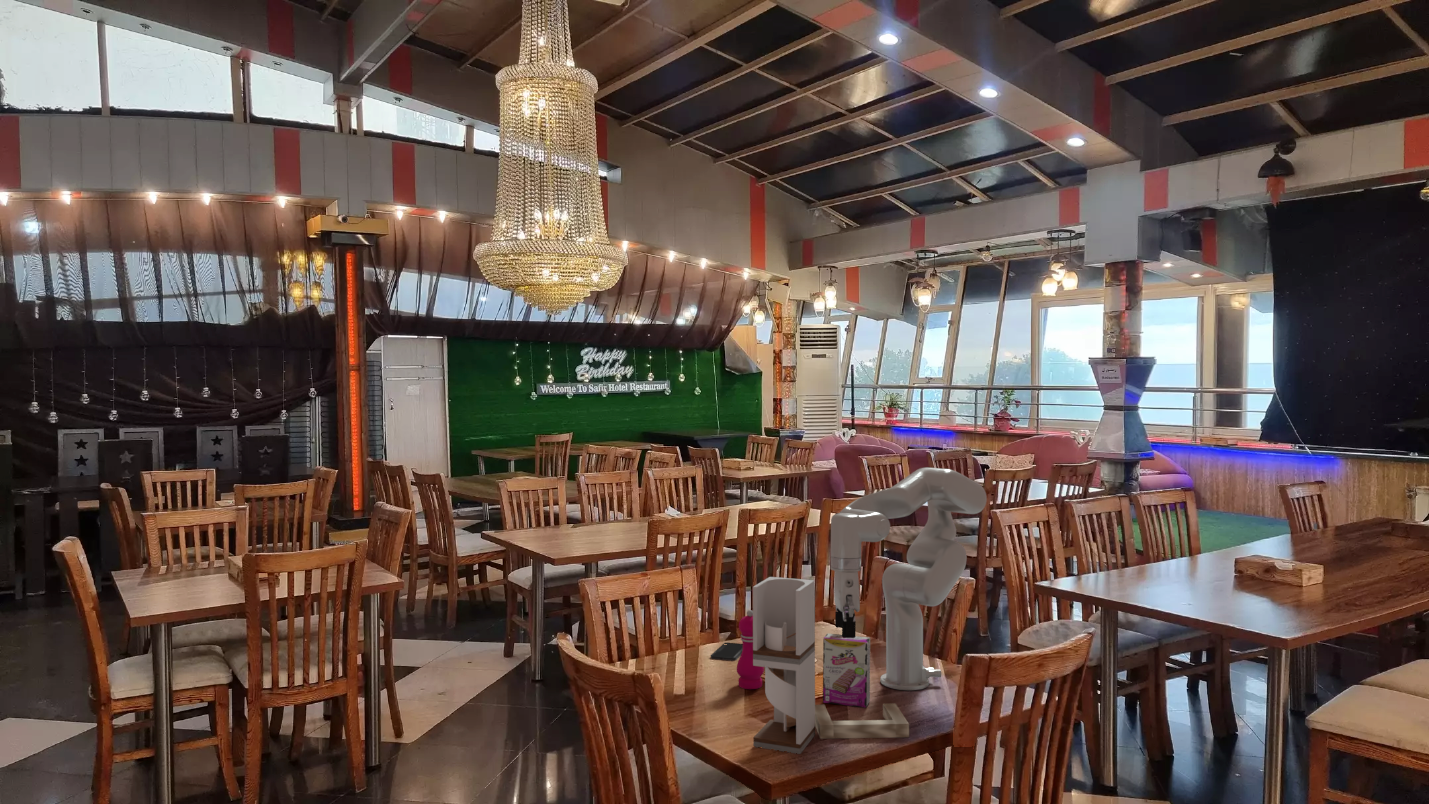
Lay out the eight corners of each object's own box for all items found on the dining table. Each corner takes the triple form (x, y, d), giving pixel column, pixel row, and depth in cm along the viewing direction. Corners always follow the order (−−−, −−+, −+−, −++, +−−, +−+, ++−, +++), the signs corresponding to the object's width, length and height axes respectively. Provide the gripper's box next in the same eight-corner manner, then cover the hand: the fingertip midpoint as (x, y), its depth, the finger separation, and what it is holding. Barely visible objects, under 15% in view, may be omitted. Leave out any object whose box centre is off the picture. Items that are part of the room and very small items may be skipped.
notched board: (895, 715, 212) (895, 703, 212) (909, 736, 199) (909, 723, 199) (811, 717, 211) (811, 704, 211) (820, 738, 198) (820, 724, 198)
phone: (749, 644, 270) (735, 658, 256) (749, 647, 270) (735, 662, 256) (724, 642, 272) (709, 655, 258) (724, 645, 272) (709, 659, 258)
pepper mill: (764, 681, 237) (764, 606, 237) (763, 690, 230) (763, 613, 230) (737, 680, 238) (737, 606, 238) (735, 689, 231) (735, 612, 231)
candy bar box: (822, 703, 220) (822, 637, 220) (826, 696, 225) (826, 632, 225) (867, 708, 217) (867, 641, 217) (870, 701, 221) (870, 636, 221)
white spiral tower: (770, 728, 204) (769, 576, 204) (815, 734, 200) (814, 580, 200) (753, 746, 194) (752, 586, 193) (800, 753, 190) (799, 590, 189)
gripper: (867, 570, 212) (867, 641, 212) (854, 557, 229) (853, 623, 229) (836, 569, 212) (835, 641, 212) (825, 557, 229) (824, 623, 229)
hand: (845, 632), depth 220 cm, fingers open, 9 cm apart
